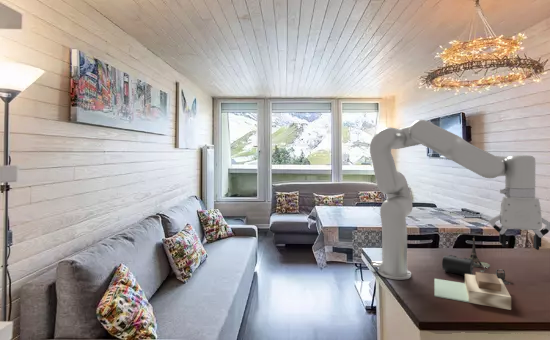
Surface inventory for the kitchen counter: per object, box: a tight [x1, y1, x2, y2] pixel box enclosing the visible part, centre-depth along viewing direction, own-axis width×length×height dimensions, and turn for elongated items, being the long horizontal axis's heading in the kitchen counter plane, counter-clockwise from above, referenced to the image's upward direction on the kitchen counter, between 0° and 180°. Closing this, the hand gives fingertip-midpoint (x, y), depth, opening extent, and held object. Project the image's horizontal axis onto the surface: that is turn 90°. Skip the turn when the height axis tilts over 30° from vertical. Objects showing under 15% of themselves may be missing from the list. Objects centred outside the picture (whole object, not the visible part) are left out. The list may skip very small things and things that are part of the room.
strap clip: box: [495, 269, 511, 285], centre depth 115 cm, size 8×3×4 cm, turn 172°
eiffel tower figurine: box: [467, 237, 492, 273], centre depth 132 cm, size 15×10×13 cm
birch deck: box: [464, 274, 512, 311], centre depth 102 cm, size 11×16×4 cm
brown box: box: [475, 271, 501, 292], centre depth 102 cm, size 6×9×2 cm, turn 152°
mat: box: [433, 278, 469, 303], centre depth 107 cm, size 10×16×1 cm, turn 152°
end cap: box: [441, 254, 474, 277], centre depth 122 cm, size 10×7×7 cm
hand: (519, 246), depth 97 cm, fingers open, 7 cm apart
